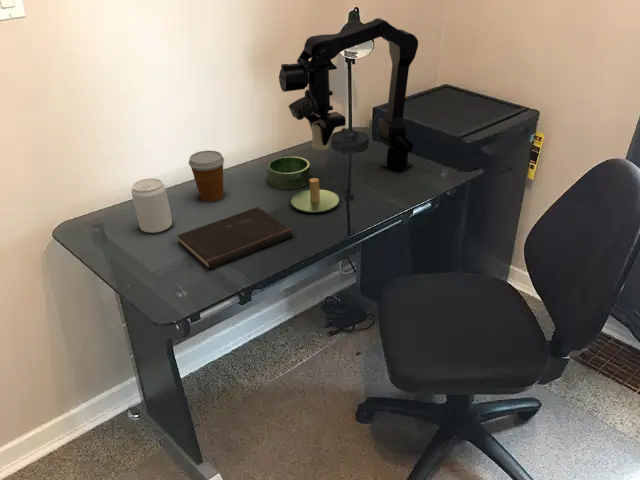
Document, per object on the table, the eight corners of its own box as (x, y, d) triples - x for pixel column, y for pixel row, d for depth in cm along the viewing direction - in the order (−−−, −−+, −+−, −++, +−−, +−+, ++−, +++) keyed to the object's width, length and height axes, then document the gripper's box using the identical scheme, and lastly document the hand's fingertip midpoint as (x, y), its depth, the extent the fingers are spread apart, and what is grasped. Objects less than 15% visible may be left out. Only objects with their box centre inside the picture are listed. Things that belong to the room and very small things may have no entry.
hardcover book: (178, 243, 150) (177, 235, 149) (258, 214, 163) (257, 206, 161) (210, 270, 140) (208, 262, 139) (292, 238, 152) (292, 230, 151)
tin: (290, 168, 187) (289, 153, 184) (319, 179, 180) (318, 163, 178) (260, 181, 179) (258, 165, 177) (288, 193, 173) (287, 177, 170)
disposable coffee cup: (187, 200, 169) (180, 160, 163) (207, 186, 177) (201, 147, 170) (216, 206, 166) (210, 166, 160) (235, 192, 174) (230, 152, 167)
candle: (320, 142, 176) (319, 119, 172) (332, 146, 174) (331, 123, 170) (309, 147, 173) (308, 123, 169) (321, 151, 171) (320, 127, 167)
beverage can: (178, 222, 159) (170, 180, 153) (160, 236, 153) (151, 193, 146) (152, 217, 161) (143, 175, 155) (133, 231, 155) (123, 189, 148)
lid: (315, 188, 175) (313, 165, 172) (349, 202, 168) (348, 178, 164) (281, 204, 167) (279, 181, 163) (315, 220, 160) (314, 195, 156)
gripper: (276, 82, 167) (280, 136, 176) (308, 101, 154) (310, 159, 162) (312, 76, 172) (314, 129, 180) (346, 94, 159) (346, 151, 167)
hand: (320, 142), depth 173 cm, fingers closed on candle, 4 cm apart
